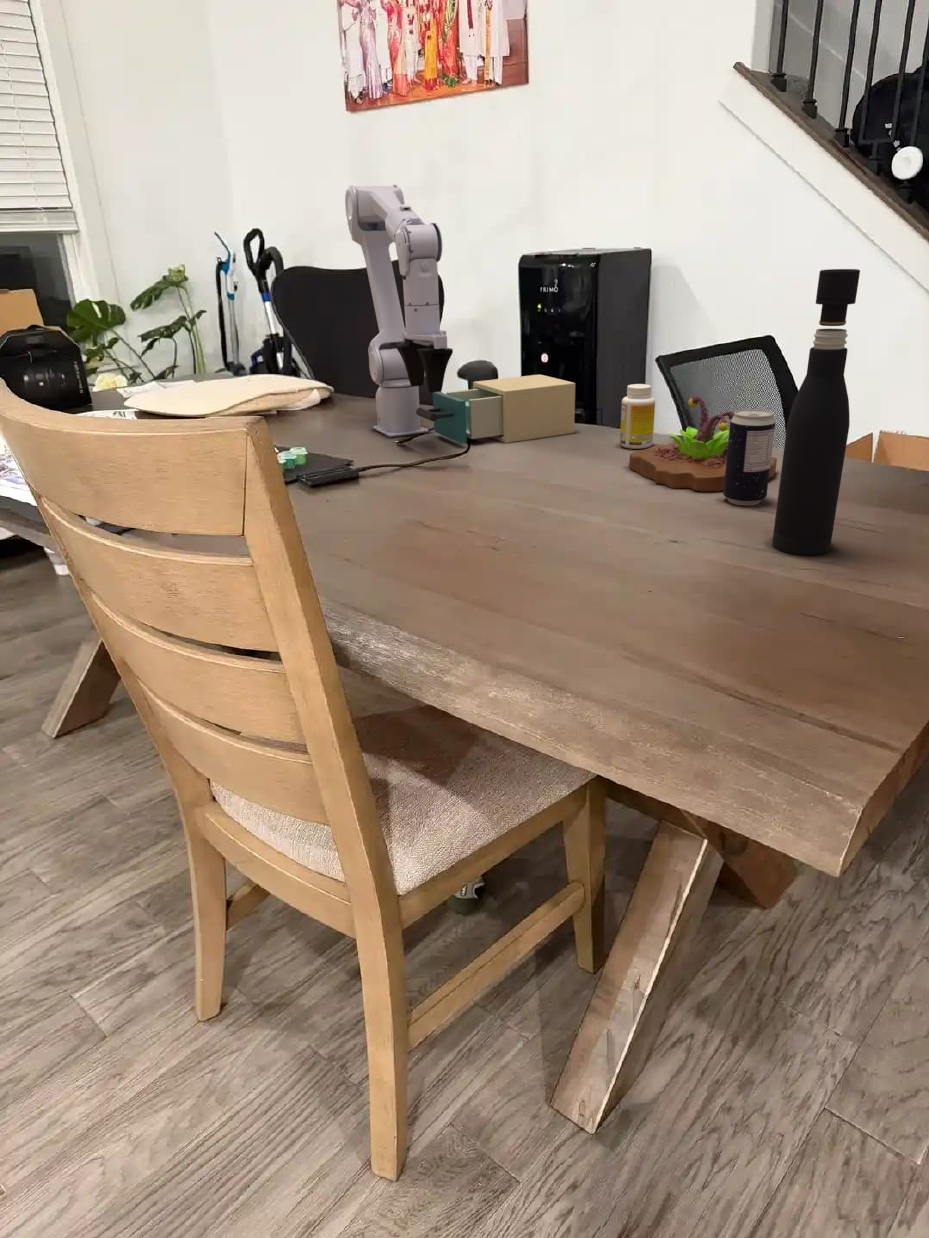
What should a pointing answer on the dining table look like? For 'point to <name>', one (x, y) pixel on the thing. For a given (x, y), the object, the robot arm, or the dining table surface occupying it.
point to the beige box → (533, 406)
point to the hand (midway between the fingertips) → (425, 388)
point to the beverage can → (749, 456)
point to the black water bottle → (817, 429)
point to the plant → (691, 456)
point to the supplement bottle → (637, 417)
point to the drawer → (453, 414)
